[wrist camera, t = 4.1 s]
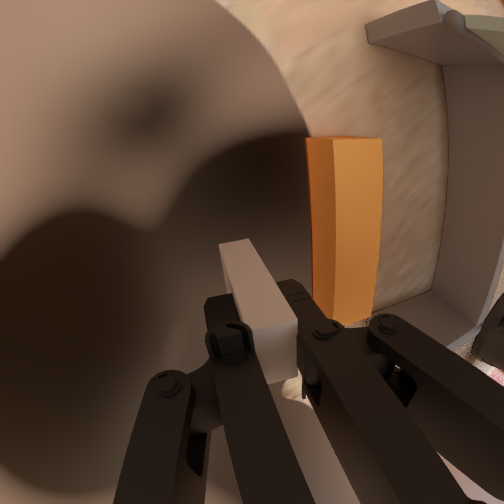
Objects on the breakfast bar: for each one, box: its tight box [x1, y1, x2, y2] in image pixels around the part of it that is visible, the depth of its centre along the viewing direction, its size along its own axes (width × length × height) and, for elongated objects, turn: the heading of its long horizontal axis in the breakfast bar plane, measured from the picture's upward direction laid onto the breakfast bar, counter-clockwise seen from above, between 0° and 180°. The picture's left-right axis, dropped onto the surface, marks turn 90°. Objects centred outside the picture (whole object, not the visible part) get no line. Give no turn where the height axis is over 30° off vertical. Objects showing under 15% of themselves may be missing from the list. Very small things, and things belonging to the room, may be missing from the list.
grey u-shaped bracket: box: [365, 0, 504, 351], centre depth 16 cm, size 25×10×7 cm, turn 6°
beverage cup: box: [487, 367, 504, 386], centre depth 43 cm, size 6×6×14 cm
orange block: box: [305, 136, 383, 326], centre depth 17 cm, size 12×3×4 cm, turn 6°
